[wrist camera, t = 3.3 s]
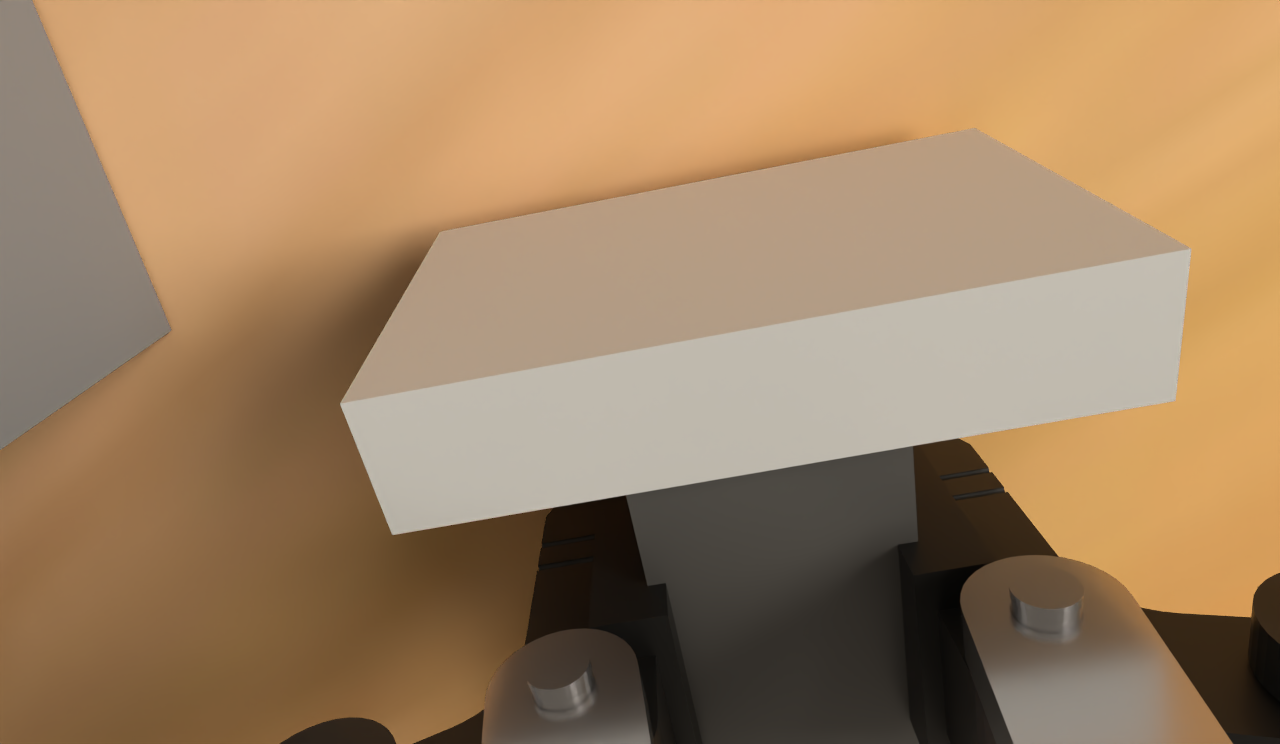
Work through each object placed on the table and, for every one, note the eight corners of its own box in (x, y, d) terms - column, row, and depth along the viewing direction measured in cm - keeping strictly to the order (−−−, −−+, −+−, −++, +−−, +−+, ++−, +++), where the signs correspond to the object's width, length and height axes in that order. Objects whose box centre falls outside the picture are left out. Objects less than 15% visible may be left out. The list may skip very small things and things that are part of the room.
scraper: (982, 671, 13) (1118, 947, 10) (592, 731, 14) (584, 1018, 10) (974, 127, 9) (1191, 249, 6) (439, 232, 10) (340, 403, 6)
